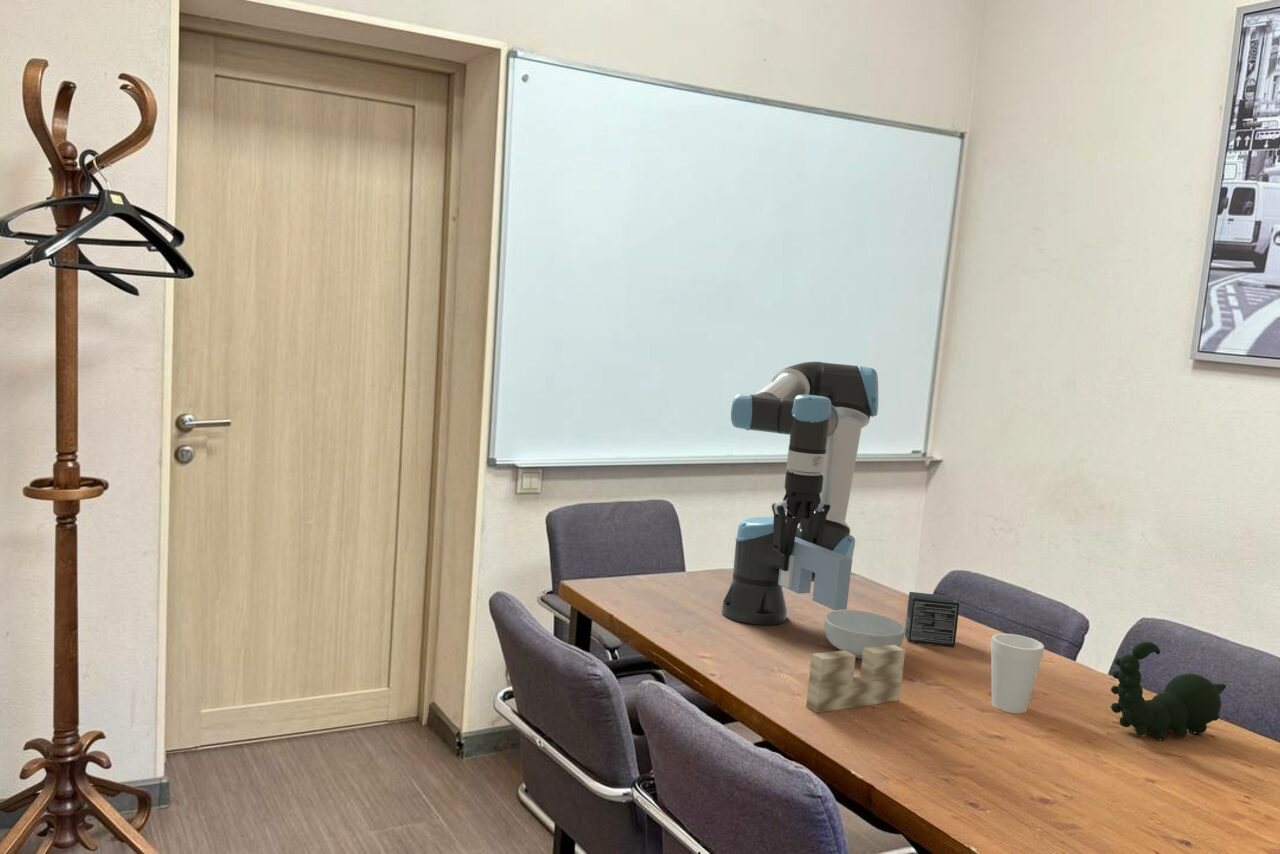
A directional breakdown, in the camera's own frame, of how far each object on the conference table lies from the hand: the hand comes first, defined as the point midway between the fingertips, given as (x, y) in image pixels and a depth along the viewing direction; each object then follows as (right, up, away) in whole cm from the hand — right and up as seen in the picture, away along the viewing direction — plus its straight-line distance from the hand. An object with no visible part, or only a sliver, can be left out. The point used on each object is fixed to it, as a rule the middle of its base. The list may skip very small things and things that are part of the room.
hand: (792, 585), depth 218 cm
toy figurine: (+66, -25, -19) cm, 73 cm away
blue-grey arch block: (+3, -2, -5) cm, 6 cm away
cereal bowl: (+16, -17, +12) cm, 26 cm away
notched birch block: (+9, -19, -19) cm, 28 cm away
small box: (+35, -17, +26) cm, 46 cm away
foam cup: (+40, -22, -13) cm, 47 cm away
